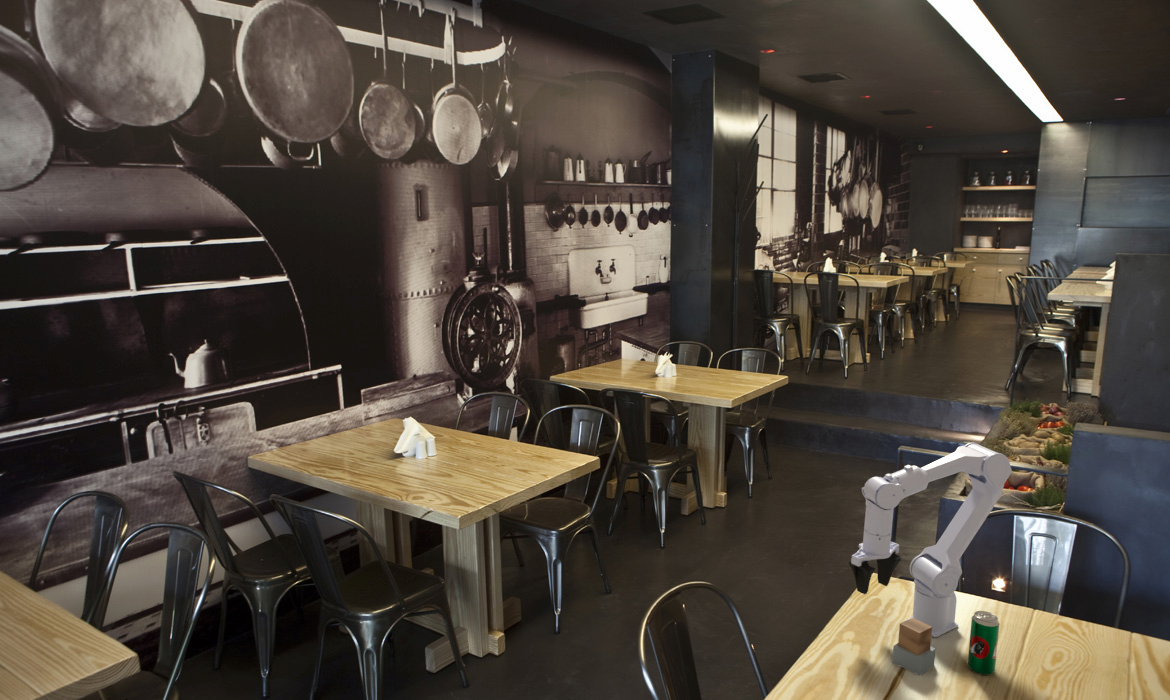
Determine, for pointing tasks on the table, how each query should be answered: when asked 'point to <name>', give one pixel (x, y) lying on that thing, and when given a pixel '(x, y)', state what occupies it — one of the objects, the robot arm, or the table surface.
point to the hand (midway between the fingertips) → (872, 588)
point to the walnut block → (915, 636)
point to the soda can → (983, 642)
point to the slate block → (913, 659)
